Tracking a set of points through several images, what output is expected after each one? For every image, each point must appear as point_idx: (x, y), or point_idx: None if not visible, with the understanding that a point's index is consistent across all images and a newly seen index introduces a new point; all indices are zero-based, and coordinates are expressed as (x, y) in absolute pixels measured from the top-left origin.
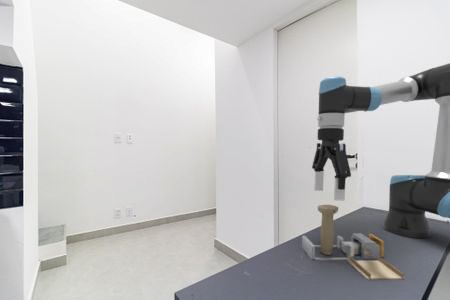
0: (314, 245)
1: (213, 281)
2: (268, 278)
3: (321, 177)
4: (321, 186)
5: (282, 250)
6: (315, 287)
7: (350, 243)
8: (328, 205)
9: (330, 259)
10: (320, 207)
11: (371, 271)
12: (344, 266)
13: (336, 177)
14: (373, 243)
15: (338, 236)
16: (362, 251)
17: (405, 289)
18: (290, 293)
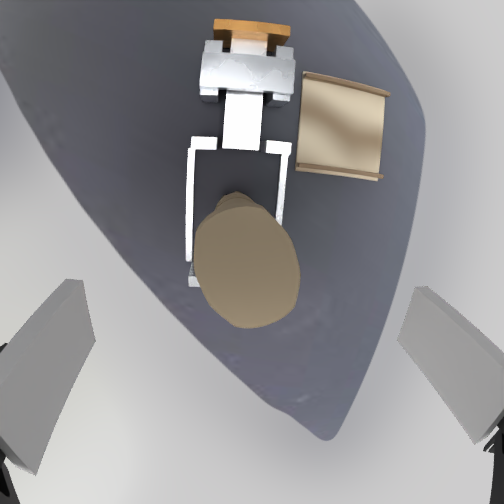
0: (187, 227)
1: (313, 428)
2: (327, 372)
3: (28, 381)
4: (70, 316)
5: (211, 326)
6: (372, 306)
7: (241, 123)
8: (211, 251)
9: (281, 220)
10: (258, 321)
11: (355, 147)
12: (316, 197)
13: (498, 439)
14: (293, 67)
15: (197, 147)
16: (275, 103)
17: (411, 127)
18: (372, 347)
